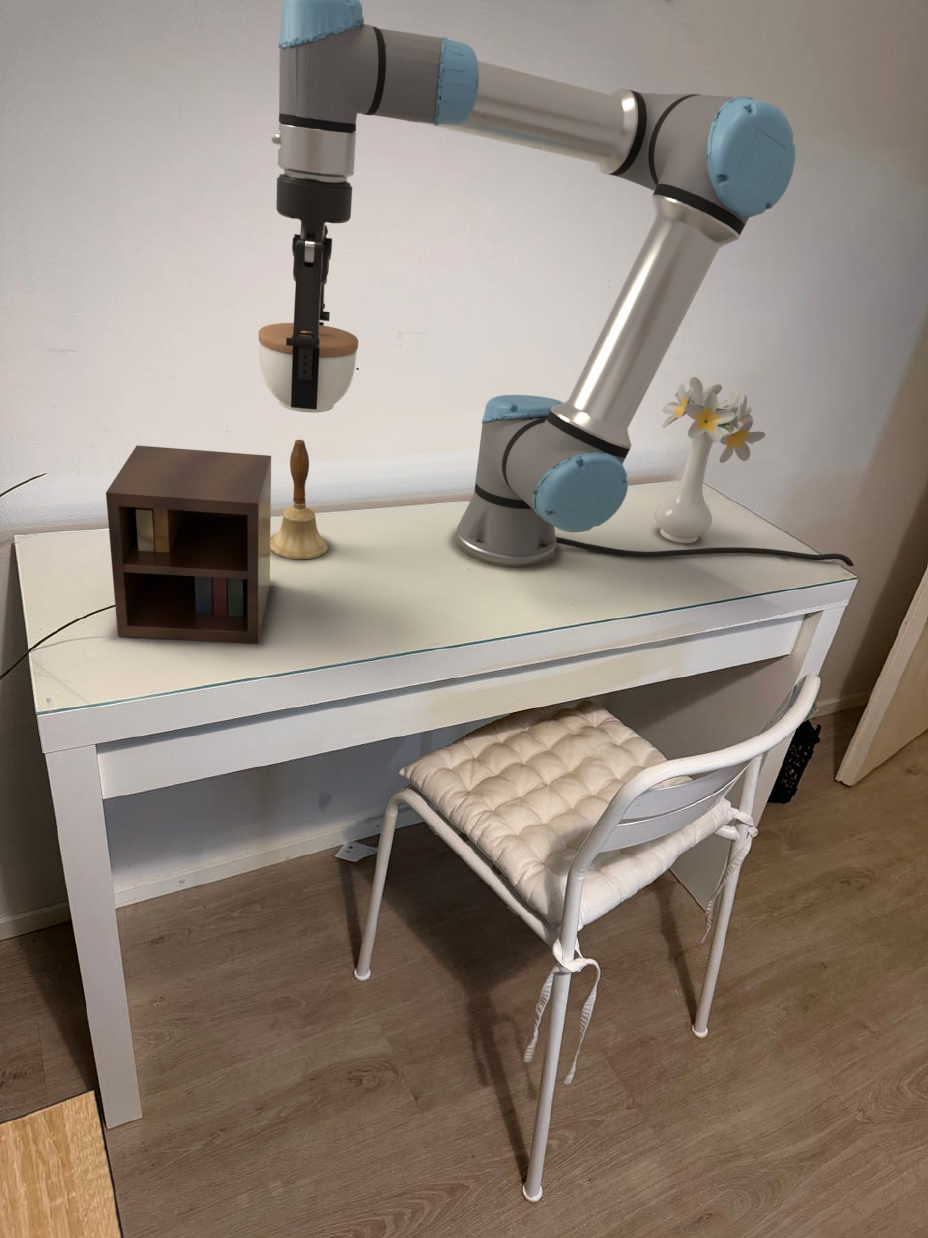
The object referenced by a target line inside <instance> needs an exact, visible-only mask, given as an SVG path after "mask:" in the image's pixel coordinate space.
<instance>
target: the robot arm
mask: <svg viewBox="0 0 928 1238" xmlns="http://www.w3.org/2000/svg"><path fill="white" fill-rule="evenodd" d="M277 44H278V45H277V48H279V62H278V63H279V76H278V77H279V78H278V79H279V82H278V83H279V84H278V86H279V87H278V88H279V91H278V131H279V132H280V133H277V132H275V133H272V136H271V142H272V144H273V145H279V146H280V147H279V148H278V149H277V165H278V167H279V168H280V169H282V170H283V173H280V174H279V175H278V177H277V178H276V204H275V205H276V206H275V207H276V211H277V213H278V214H279V215H281V216H282V217H285V218H288V219H294V220H299V221H300V234H297V233H294V234H293V237H292V242H291V245H292V246H291V251H292V256H293V267H292V269H293V270H292V276H293V281H294V282H295V290H294V309H293V313H294V314H293V323H294V328H293V335H292V338H287V337H286V346H293V355H292V387H291V407H292V408H303V409H314V410H317V394H318V372H319V350H320V346H319V343H320V340H319V325H323V326H325V322H330V315H331V314H330V311H324V310H325V309H326V303H325V285H326V284H327V282H328V275H329V271H330V260H331V259H332V253H333V250H332V249H333V238H331V237H327V235H329V229H328V225H326V223H329V224H344V223H347V222H348V221H350V219H351V217H352V203H353V202H352V201H353V186H352V185H351V183H350V182H349V181H348V178H351V177H353V176H354V174H355V159H356V158H355V157H356V141H357V140H356V139H357V132H356V131H357V117H358V114H361V115H364V116H377V117H381V118H389V119H396V120H399V121H400V120H401V121H405V122H413V123H418V124H421V125H427V126H430V127H435V128H438V129H439V128H440V129H444V130H448V131H453V132H458V133H462V134H467V135H471V136H475V137H480V138H484V139H489V140H493V141H498V142H502V143H506V144H510V145H515V146H520V147H523V148H524V147H525V148H529V149H533V150H536V151H537V150H538V151H542V152H547V153H551V154H555V155H560V156H565V157H569V158H574V159H578V160H582V161H588V162H591V163H593V165H594V167H595V168H596V170H597V171H598V172H599V173H601V174H603V175H608V176H613V177H617V178H620V179H624V180H626V181H629V182H631V183H634V184H637V185H640V186H642V187H643V188H646V189H649V190H651V191H653V193H652V195H651V198H650V199H651V204H652V207H653V211H654V214H655V216H654V220H653V222H652V225H651V227H650V229H649V231H648V232H647V235H646V237H645V239H644V242H643V243H642V246H641V248H640V250H639V252H638V254H637V255H636V257H635V260H634V262H633V263H632V266H631V268H630V271H629V272H628V274H627V277H626V278H625V280H624V283H623V285H622V288H621V289H620V291H619V293H618V294H617V295H618V296H617V297H616V300H615V301H614V303H613V305H612V307H611V310H610V312H609V314H608V316H607V318H606V320H605V322H604V325H603V326H602V329H601V331H600V333H599V335H598V336H597V339H596V341H595V343H594V345H593V347H592V349H591V351H590V354H589V356H588V358H587V359H586V362H585V364H584V366H583V368H582V370H581V373H580V374H579V377H578V379H577V380H576V383H575V384H574V387H573V389H572V391H571V393H570V395H569V397H568V399H567V400H566V401H565V402H563V401H561V400H559V399H555V398H551V397H545V396H538V395H529V394H528V395H527V394H503V395H497V396H494V397H492V398H490V399H489V400H488V401H487V403H486V404H485V408H484V412H483V417H482V419H481V424H482V426H481V433H480V440H479V441H480V442H479V450H478V458H477V465H476V466H477V467H476V474H475V483H474V492H473V495H472V497H471V498H470V501H469V503H468V504H467V507H466V509H465V511H464V513H463V515H462V517H461V519H460V521H459V523H458V525H457V529H456V537H455V541H456V544H457V546H458V548H459V549H460V550H461V551H462V552H463V553H465V554H466V555H468V556H469V557H471V558H473V559H475V560H478V561H480V562H483V563H487V564H491V565H494V566H499V567H506V568H530V567H535V566H540V565H543V564H545V563H548V562H550V561H551V560H552V559H553V558H554V555H555V553H556V546H557V544H559V545H564V546H568V547H572V548H573V547H574V548H578V549H582V550H587V551H593V552H598V553H603V554H608V555H614V556H621V557H629V558H630V557H631V558H632V557H633V558H645V559H646V558H648V559H649V558H652V559H653V558H668V557H682V556H684V557H685V556H697V555H711V554H713V555H714V554H756V555H768V556H777V557H778V556H779V557H786V558H794V559H800V560H809V561H828V560H838V561H842V562H844V563H845V564H846V565H847V566H848V567H854V566H855V564H854V563H853V561H852V559H851V558H850V557H848V556H847V555H844V554H842V553H823V554H813V553H806V552H805V553H804V552H797V551H789V550H784V549H774V548H762V547H743V546H742V547H740V546H739V547H734V546H733V547H730V546H729V547H727V546H725V547H723V546H722V547H701V548H691V549H690V548H689V549H672V550H671V549H669V550H658V551H657V550H655V551H642V550H641V551H640V550H629V549H619V548H613V547H607V546H602V545H598V544H593V543H592V544H591V543H586V542H581V541H577V540H574V539H569V538H563V537H558V536H557V535H556V529H558V530H560V531H562V532H567V533H583V532H587V531H590V530H592V529H593V528H595V527H599V526H601V525H603V524H604V523H606V522H608V520H610V519H611V518H612V517H613V516H614V515H615V514H616V513H617V512H618V510H619V509H620V507H621V506H622V505H623V503H624V501H625V499H626V496H627V493H628V489H629V488H628V487H629V481H628V479H627V478H628V474H627V470H626V469H625V466H624V462H625V460H626V458H627V457H628V455H629V452H630V451H631V448H632V442H631V439H630V438H631V437H630V435H629V427H630V425H631V423H632V421H633V419H634V417H635V415H636V414H637V410H638V409H639V407H640V405H641V404H642V401H643V399H644V397H645V396H646V394H647V391H648V390H649V388H650V385H651V384H652V382H653V379H654V378H655V376H656V374H657V372H658V370H659V368H660V366H661V365H662V362H663V360H664V358H665V356H666V354H667V352H668V350H669V348H670V346H671V344H672V342H673V340H674V338H675V336H676V334H677V333H678V330H679V328H680V326H681V324H682V323H683V320H684V318H685V317H686V315H687V313H688V311H689V309H690V307H691V305H692V303H693V301H694V299H695V297H696V295H697V292H698V291H699V289H700V287H701V285H702V283H703V281H704V279H705V277H706V276H707V273H708V271H709V270H710V267H711V265H712V263H713V261H714V260H715V257H716V256H717V254H718V251H719V250H720V249H721V248H722V247H724V246H726V245H728V244H731V243H733V242H735V241H739V238H740V236H741V234H742V232H743V231H744V229H745V227H746V225H747V223H748V221H749V219H750V218H753V217H755V216H759V215H761V214H762V215H763V213H765V211H766V210H770V209H772V208H773V207H774V206H775V205H776V204H777V203H778V202H779V201H780V199H781V198H782V197H783V195H784V194H785V192H786V190H787V189H788V186H789V184H790V182H791V179H792V176H793V172H794V169H795V163H796V145H795V144H794V133H793V128H792V126H791V124H790V122H789V120H788V118H787V117H786V115H785V114H784V112H783V111H781V110H780V108H778V107H777V106H775V105H774V104H772V103H770V102H768V101H765V100H760V99H759V100H758V99H754V98H753V97H752V96H746V95H741V96H735V97H734V96H732V97H731V96H721V95H710V94H709V95H708V94H698V93H650V92H640V91H635V90H631V89H629V88H623V87H622V88H618V89H616V90H614V91H612V93H610V94H609V93H605V92H601V91H597V90H594V89H590V88H585V87H582V86H577V85H575V84H569V83H567V82H563V81H558V80H555V79H551V78H546V77H543V76H539V75H536V74H532V73H527V72H523V71H519V70H516V69H512V68H507V67H504V66H500V65H496V64H492V63H489V62H485V61H481V60H478V58H477V55H476V53H475V51H474V49H473V47H471V46H470V45H469V44H467V43H465V42H462V41H456V40H453V39H449V38H448V37H447V36H442V37H440V36H434V35H433V36H432V35H426V34H421V33H414V32H407V31H401V30H392V29H386V28H379V27H376V26H372V25H370V24H366V23H365V18H364V15H363V4H362V3H361V1H360V0H282V5H281V16H280V29H279V41H278V42H277ZM300 331H310V332H312V333H313V334H311V333H302V332H300ZM555 528H556V529H555Z"/></svg>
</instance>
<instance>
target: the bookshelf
mask: <svg viewBox="0 0 928 1238" xmlns="http://www.w3.org/2000/svg"><path fill="white" fill-rule="evenodd" d="M271 498H272V455H267V454H253V453H240V452H228V451H227V452H226V451H214V450H201V449H190V448H176V447H164V446H163V447H162V446H149V445H138V444H137V445H136V446H135V447H134V449H132V452H131V453H130V455H129V456H128V458H127V459H126V461H125V462H124V464H123V466H122V467H121V468H120V470H119V472H118V473H117V475H116V476H115V477H114V480H112V482H111V484H110V485H109V487H108V489H107V490H106V492H105V500H106V511H107V523H108V533H109V534H108V535H109V545H110V546H109V547H110V559H111V571H112V582H113V583H112V584H113V595H114V607H115V619H116V620H115V621H116V631H117V637H121V638H137V639H138V638H140V639H141V638H142V639H160V640H182V641H201V642H220V643H223V642H224V643H239V644H259V641H260V635H261V630H262V626H263V621H264V615H265V611H266V606H267V601H268V594H269V591H270V587H271V549H270V541H271V521H272V520H271V515H272V513H271V511H272V510H271V508H272V507H271V505H272V504H271V503H272V502H271V501H272V499H271Z"/></svg>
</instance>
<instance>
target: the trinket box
mask: <svg viewBox="0 0 928 1238" xmlns="http://www.w3.org/2000/svg"><path fill="white" fill-rule="evenodd" d="M293 328H294V322H280V323H273V324H267V325H265V326H262V327H261V328H259V331H258V342H259V363H260V369H261V375H262V378H263V380H264V383H265V385H266V387H267V388H268V390H269V392H270V393H271V394H272V396H274V397H275V399H277V400H278V404H279V405H280V406H281V407H283V408H285V409H287V410H291V411H295V412H301V413H325V412H328V411H331V410H333V409H334V407H335V404H337V403H338V402H339V401H341V399H342V398H343V397H344V396H346V394H347V392H348V391H349V389H350V387H351V385H352V382H353V379H354V375H355V370H356V364H357V351H358V349H359V339H358V337H357V336H356V335H355V334H353V333H351V332H349V331H347V330H344V329H340V328H338V327H334V326H330V325H329V326H328V325H324V326H323V325H319V340H320V343H319V346H320V350H319V372H318V394H317V410H314V409H303V408H292V407H291V387H292V355H293V346H286V337H287V338H292V335H293ZM300 332H302V333H311V334H313V333H312V332H310V331H300Z"/></svg>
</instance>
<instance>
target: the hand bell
mask: <svg viewBox="0 0 928 1238" xmlns="http://www.w3.org/2000/svg"><path fill="white" fill-rule="evenodd" d="M289 469H290V474H291V475H290V476H291V478H292V481H293V498H292V501H293V506H292V507H288V508H286V509H285V510H284V511H283V513H282V514H283V515H282V520H281V521H282V522H281V525H280V528H279V530H278V532H277V534H276V535H274V537H272V538H271V539H270V551H271V552H273V553H274V554H275V555H276V556H277V555H278V556H279V557H281V558H286V559H289V560H311V559H316V558H318V557H321V556H323V555H324V554H325V553H327V551H328V549H329V545H328V543H327V541H326V539H325V538H324V537H322V536H321V534H320V533H319V529H318V526H317V520H316V513H315V512H314V510H313V509H311V508H309V507H307V504H306V502H307V501H306V483H307V479H308V475H309V470H310V459H309V453H308V450H307V447H306V443H305V440H303V439H296V440H294V445H293V448H292V450H291V453H290V458H289Z"/></svg>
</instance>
